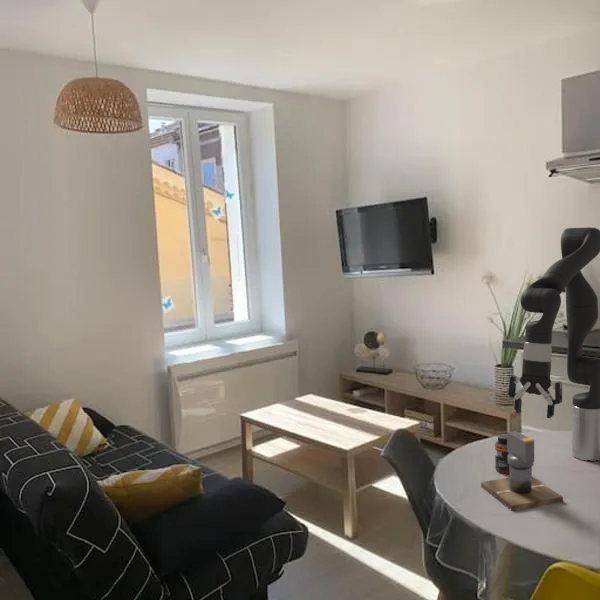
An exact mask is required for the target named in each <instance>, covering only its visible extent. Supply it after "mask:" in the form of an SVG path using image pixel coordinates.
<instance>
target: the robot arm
mask: <svg viewBox="0 0 600 600" xmlns="http://www.w3.org/2000/svg"><path fill="white" fill-rule="evenodd" d="M560 251H561V252H560V254H561V258H560V259H559V260H557V261H556V262H554V263H552V264H551V265H550V266H549V267H548V269H547V270H546V271H545V273H544V274H542V277H541V278H538V279H537V280H536V281H534V282H533V283H531V284H530V285H529V286H527V287H526V288H525V289H524V290H523V291H522V294H521V295H520V301H519V302H520V306H521V308H522V309H523V310H524V311H525V312H528V313H533V314H534V313H535V314H538V313H539V314H542V315H541V317H540V319H539V320H532V321H529V322H527V323H526V324H525V334H524V335H525V336H524V337H525V338H524V345H523V349H522V365H521V366H522V367H521V368H522V369H521V376H517V375H512V376H510V377H509V385H508V392H507V395H508V397H511V398H513V399H514V404H513V405H514V407H513V409H514V411H515V413H516V414H517V413H518V414H520V413H521V412H522V397H523V396H524V395H525V394H526V393H527V394H529V395H530V394H531V395H533V394H534V395H537V396H541V395H542V397H543V399H545V401H546V402H547V410H546V418H547V419H551V418H552V417H553V416H555V405H560V404H561V403H563V382H562V381H552V380H551V369H552V356H553V355H552V353H553V350H552V349H553V348H552V343H553V342H552V339H553V328H554V326H555V325H554V324H555V322H556V318H557V315H558V314H559V310H560V307H561V304H562V297H561V294H562V293H563V292H564V291H565V312H566V315H565V316H566V323H567V325H566V326H567V357H566V358H567V359H566V360H567V361H566V372H567V373H566V374H567V377H568V380H569V381H570V382H571V383H573V384H578V385H584V386H587V387H588V386H589V389H588V390H589V391H586V392H580V393H577V394H574V395H573V396H572V433H571V434H572V440H571V441H572V442H571V444H572V445H571V446H572V448H571V452H572V453H571V455H572V456H573V457H574V458H576V459H578V460H581V461H587V460H590V461H589V462H596V460H598V461H600V358H599V357H592V356H584V355H583V346H584V342H585V340H586V338H587V337H588V335H589V333H590V332H591V331H592V330H593V328H594V327H595V325H596V323H597V321H598V319H599V301H598V300H599V298H598V296H597V294H596V291H595V290H594V288H592V286H591V284H590V283H589V281H587V279H586V277H585V276H584V274H583V273H582V269H584V268H585V267H586V266H588V264H590V262H591V261H593V260H594V259H595V258H596V257H597V256H598V255H599V254H600V229H599V228H597V227H588V226H587V227H586V226H585V227H567V228H565V229H564V230H563V231H562V233H561V236H560ZM519 383H520V384H521V386H522V388H520V390H519V391H518V392H517V393H516V391H517V390H516V389H517V384H519ZM550 387H552V389H553V390H554V397H553V396H552V393H551V392H550V390H549V389H550Z"/></svg>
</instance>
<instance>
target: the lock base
mask: <svg viewBox="0 0 600 600" xmlns="http://www.w3.org/2000/svg"><path fill="white" fill-rule="evenodd" d="M532 469H533V466H532V467H530V468H516V467H513V466H510V465H509V471H510V473H509V477H503V478H498V479H494V480H493V479H492V480H486V481H485V480H484V481H481V482H480V488H482V489H483V488H484V489H483V490H485V492H486V493H488V494H489V495H491V496H492V497H494V498H495V499H496V500H497V501H499V502H500V503H501V504H502V505H504V506H505V507H506V506H507V507H508V508H507V507H506V508H507V509H509V510H510V509H511V510H514V511H518V510H517V509H520V510H524V509H525V508H526V509H529V508H530V507H531V508H537V507H542V506H548V505H553V504H559V503H563V502H564V496H563V495H561V494H559V493H558V492H556V491H555V490H554V489H551V488H550V487H549V486H547V485H546V484H544V483H543V482H541V481H539V480H538V479H536V478H534V477H533V475H532V473H533V472H532V471H533V470H532ZM511 510H510V511H511Z"/></svg>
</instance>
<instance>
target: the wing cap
mask: <svg viewBox="0 0 600 600" xmlns="http://www.w3.org/2000/svg"><path fill="white" fill-rule="evenodd" d="M506 434H507V452H508V453H509V454H508V464H509V465H510V466H513V467H516V468H530V467H532V468H533V467H534V463H535V439H534V438H533V437H527V435H524V434H522V433H520V432H518V431H516V430H513V431H506Z"/></svg>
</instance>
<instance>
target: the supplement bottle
mask: <svg viewBox="0 0 600 600" xmlns="http://www.w3.org/2000/svg"><path fill="white" fill-rule="evenodd" d="M508 454H509V453H508V452H507V433H505V434H503V433H502V434H498V435H497V440H496V442H495V443H494V461H495V462H494V464H495V466H494V469H495V470H496V471H497V473H498V472H499V473H500V474H510V471H509V464H508Z"/></svg>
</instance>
